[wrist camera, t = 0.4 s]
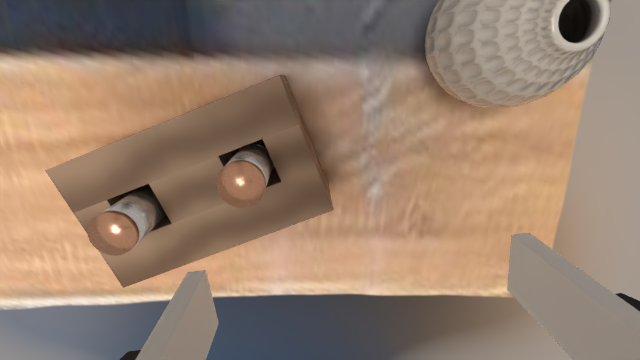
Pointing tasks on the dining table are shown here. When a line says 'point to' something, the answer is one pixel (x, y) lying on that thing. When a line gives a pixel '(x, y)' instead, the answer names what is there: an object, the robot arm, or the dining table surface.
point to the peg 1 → (126, 222)
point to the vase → (511, 47)
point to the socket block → (201, 179)
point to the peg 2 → (245, 176)
